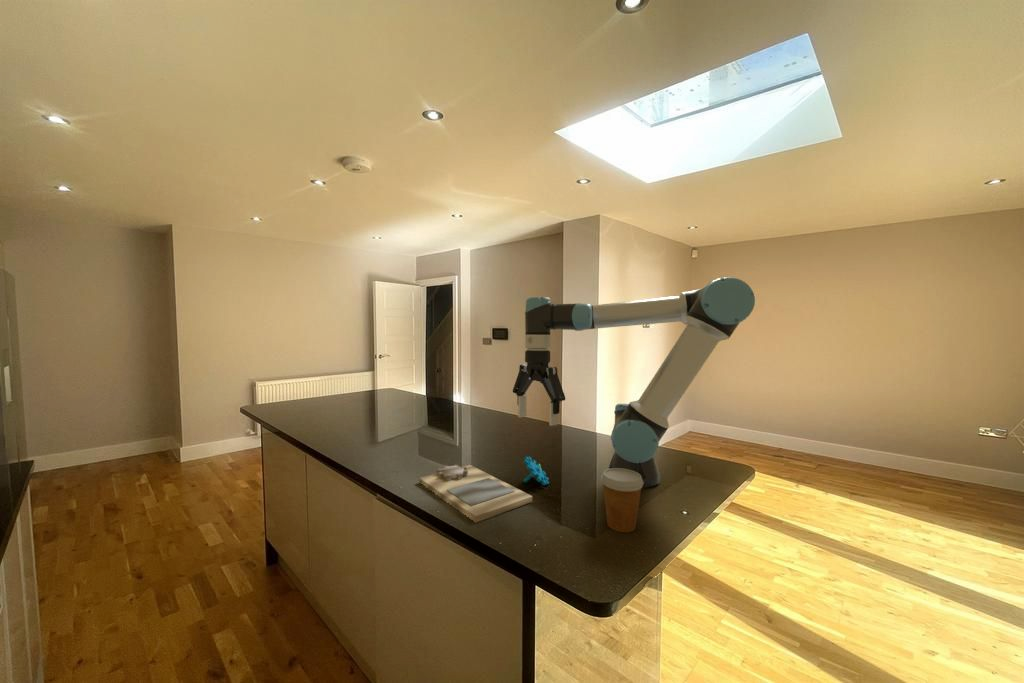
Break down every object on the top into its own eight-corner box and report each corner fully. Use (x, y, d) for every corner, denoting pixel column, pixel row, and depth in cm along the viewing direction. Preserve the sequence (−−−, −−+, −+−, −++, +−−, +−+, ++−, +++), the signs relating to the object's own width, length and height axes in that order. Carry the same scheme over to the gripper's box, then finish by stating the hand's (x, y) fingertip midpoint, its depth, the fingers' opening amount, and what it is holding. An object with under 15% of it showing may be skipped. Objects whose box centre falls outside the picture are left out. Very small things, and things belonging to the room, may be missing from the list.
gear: (547, 486, 107) (523, 457, 109) (532, 499, 107) (509, 471, 110) (553, 477, 117) (532, 451, 120) (539, 489, 118) (518, 464, 121)
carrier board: (532, 501, 100) (532, 490, 100) (475, 522, 89) (475, 510, 89) (469, 469, 124) (469, 459, 124) (418, 482, 113) (418, 472, 112)
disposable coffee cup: (651, 533, 85) (652, 480, 85) (614, 539, 82) (615, 484, 82) (627, 513, 94) (628, 465, 94) (592, 518, 91) (593, 469, 91)
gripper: (501, 348, 120) (501, 415, 120) (559, 351, 101) (559, 430, 101) (519, 348, 125) (519, 412, 125) (578, 350, 105) (577, 426, 106)
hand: (537, 420), depth 113 cm, fingers open, 13 cm apart
